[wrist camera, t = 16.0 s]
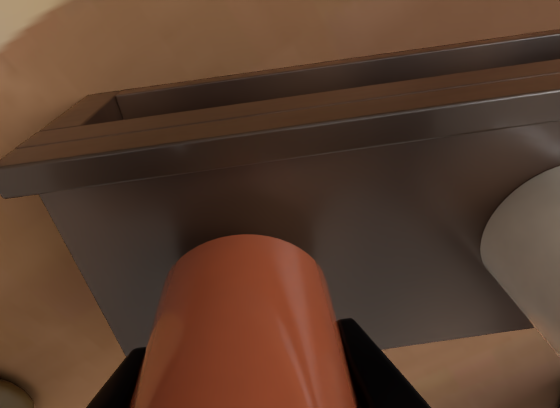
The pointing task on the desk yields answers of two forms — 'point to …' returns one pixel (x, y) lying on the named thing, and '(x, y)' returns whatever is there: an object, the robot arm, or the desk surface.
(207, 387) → the orange lidded jar
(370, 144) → the shelf
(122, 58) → the desk surface
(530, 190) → the white lidded jar
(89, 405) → the robot arm
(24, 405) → the kendama
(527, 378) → the desk surface
